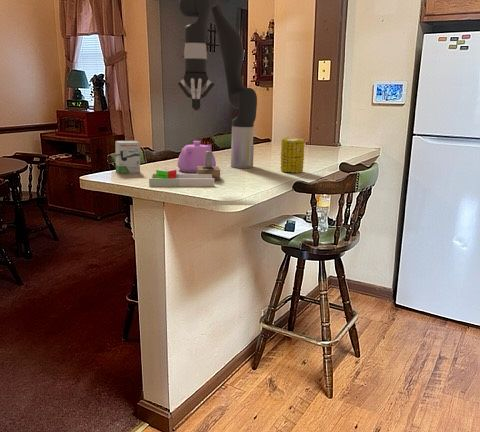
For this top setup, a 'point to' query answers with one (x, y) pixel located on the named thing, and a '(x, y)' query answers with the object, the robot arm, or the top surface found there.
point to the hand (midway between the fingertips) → (195, 110)
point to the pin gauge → (208, 160)
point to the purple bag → (193, 157)
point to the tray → (163, 181)
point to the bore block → (210, 172)
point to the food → (292, 155)
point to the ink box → (127, 156)
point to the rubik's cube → (166, 173)
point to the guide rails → (196, 180)
